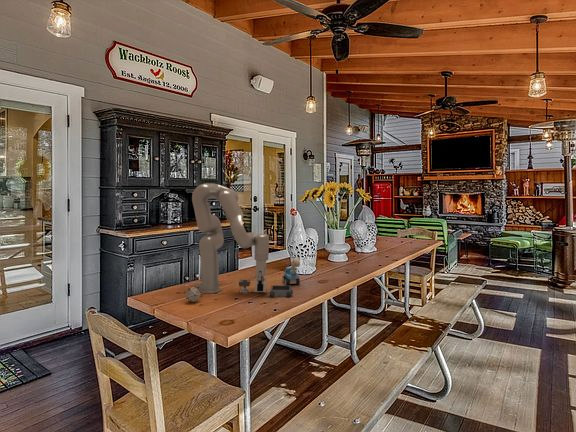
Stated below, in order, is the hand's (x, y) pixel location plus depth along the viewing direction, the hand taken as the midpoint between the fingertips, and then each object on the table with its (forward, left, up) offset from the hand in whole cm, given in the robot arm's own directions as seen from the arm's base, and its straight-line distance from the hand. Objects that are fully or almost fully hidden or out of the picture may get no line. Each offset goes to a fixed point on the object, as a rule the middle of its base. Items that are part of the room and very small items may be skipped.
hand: (260, 289), depth 205 cm
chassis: (+11, 0, -3) cm, 11 cm away
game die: (-33, -14, -3) cm, 36 cm away
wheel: (-9, +2, +2) cm, 9 cm away
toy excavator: (+17, +18, -3) cm, 25 cm away
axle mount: (-9, +2, -3) cm, 9 cm away
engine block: (0, 0, -1) cm, 1 cm away
